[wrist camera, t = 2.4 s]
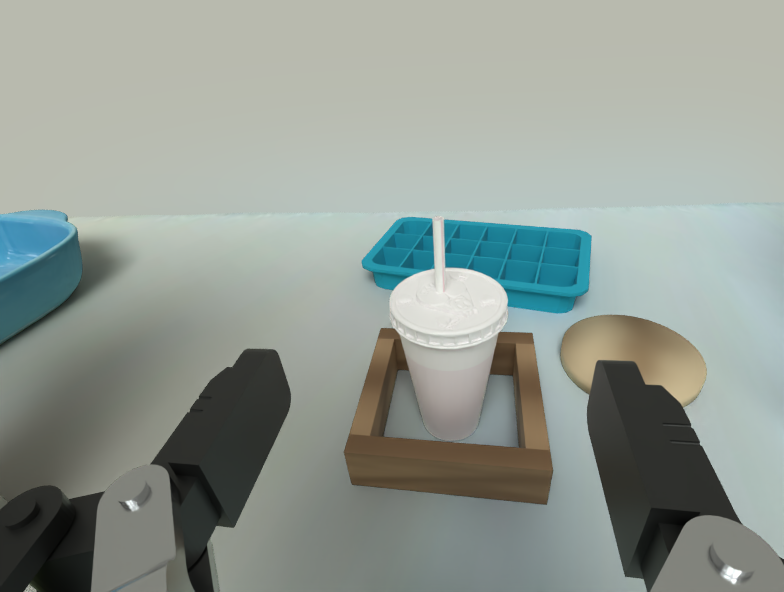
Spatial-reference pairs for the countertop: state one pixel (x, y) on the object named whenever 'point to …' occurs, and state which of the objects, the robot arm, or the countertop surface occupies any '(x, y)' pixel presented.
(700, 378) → the trivet
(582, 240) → the ice cube tray
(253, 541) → the countertop surface
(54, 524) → the robot arm
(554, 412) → the countertop surface
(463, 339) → the smoothie
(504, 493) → the square wooden frame
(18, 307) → the casserole dish
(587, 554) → the countertop surface
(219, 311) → the countertop surface
